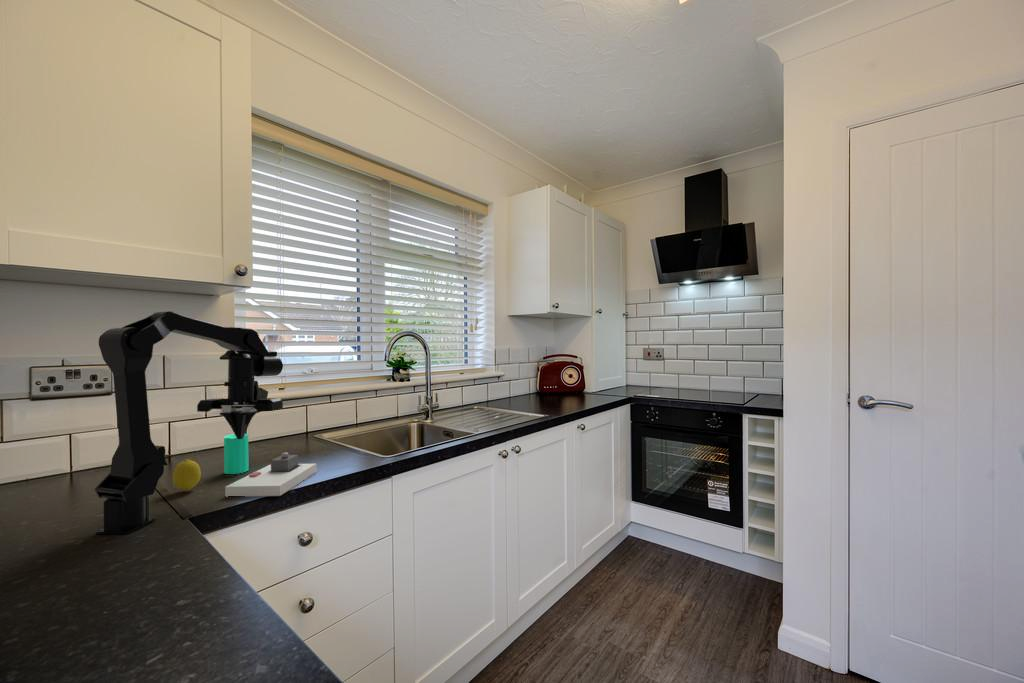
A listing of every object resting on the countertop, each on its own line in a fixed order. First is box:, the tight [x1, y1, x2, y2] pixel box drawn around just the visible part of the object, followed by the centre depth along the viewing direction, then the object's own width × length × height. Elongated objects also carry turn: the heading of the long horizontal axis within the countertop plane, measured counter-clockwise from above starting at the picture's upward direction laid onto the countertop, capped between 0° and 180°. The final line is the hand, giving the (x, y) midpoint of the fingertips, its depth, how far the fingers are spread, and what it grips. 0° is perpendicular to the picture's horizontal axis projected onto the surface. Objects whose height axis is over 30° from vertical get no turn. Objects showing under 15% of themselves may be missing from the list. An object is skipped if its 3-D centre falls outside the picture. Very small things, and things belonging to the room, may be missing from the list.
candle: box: [223, 433, 250, 474], centre depth 121 cm, size 6×6×12 cm
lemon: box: [172, 458, 202, 492], centre depth 104 cm, size 6×6×8 cm
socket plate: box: [224, 463, 318, 498], centre depth 110 cm, size 19×13×3 cm
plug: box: [270, 452, 299, 473], centre depth 115 cm, size 6×4×6 cm
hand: (240, 438), depth 107 cm, fingers closed
